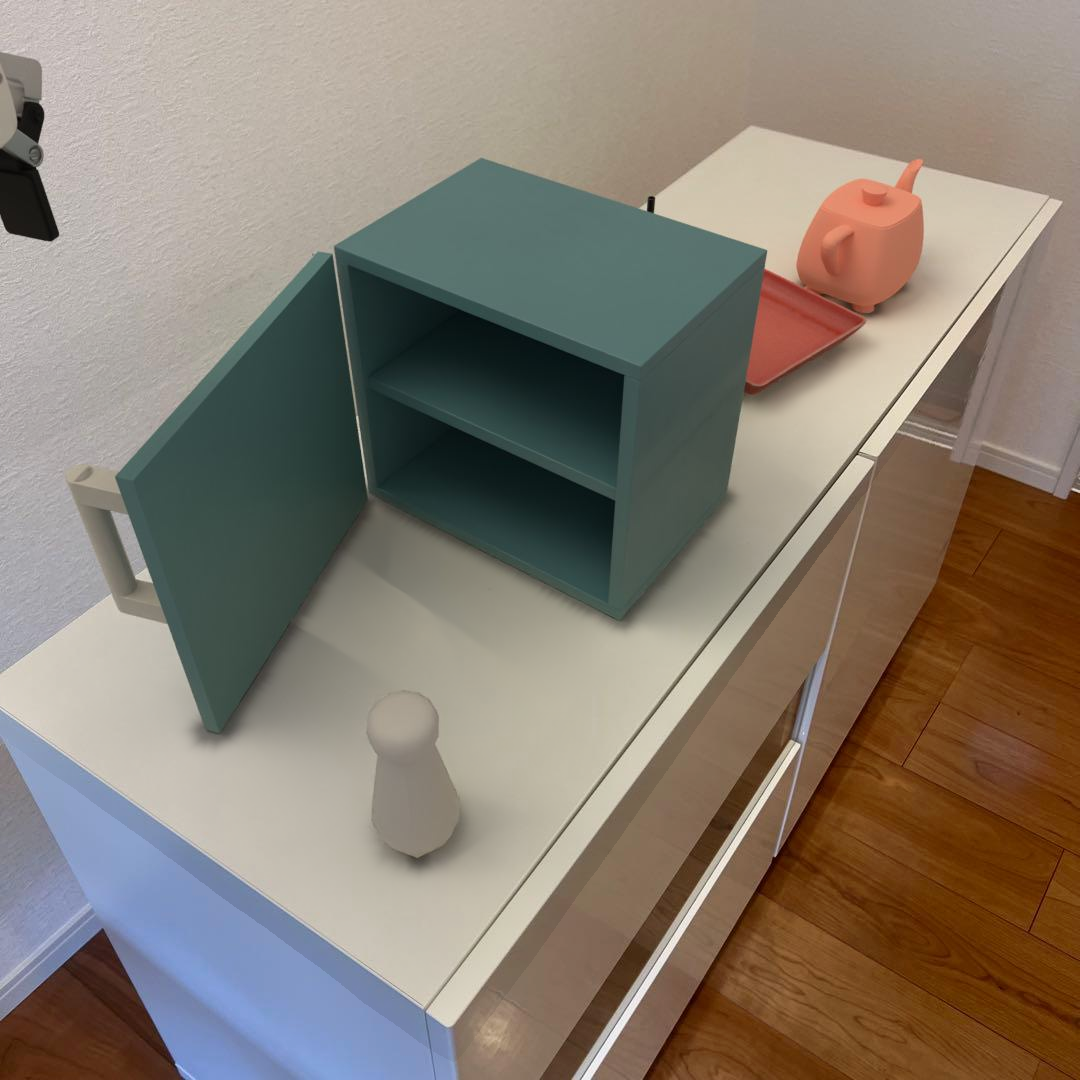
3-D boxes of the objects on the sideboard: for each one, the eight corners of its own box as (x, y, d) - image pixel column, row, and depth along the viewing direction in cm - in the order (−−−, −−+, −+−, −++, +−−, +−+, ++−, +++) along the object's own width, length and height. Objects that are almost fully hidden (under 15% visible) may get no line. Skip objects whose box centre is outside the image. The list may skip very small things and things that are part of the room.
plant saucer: (732, 278, 123) (736, 251, 120) (864, 344, 113) (871, 317, 111) (621, 338, 114) (623, 311, 112) (753, 415, 104) (758, 388, 102)
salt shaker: (427, 777, 75) (412, 657, 66) (479, 832, 72) (471, 715, 63) (357, 826, 72) (332, 709, 63) (408, 886, 69) (389, 771, 60)
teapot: (860, 341, 114) (886, 238, 105) (763, 302, 119) (780, 200, 111) (942, 267, 125) (972, 167, 116) (850, 234, 130) (872, 137, 122)
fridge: (619, 621, 85) (641, 366, 68) (368, 493, 96) (332, 245, 79) (726, 497, 96) (768, 249, 79) (489, 394, 107) (481, 157, 90)
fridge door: (127, 708, 79) (17, 454, 62) (290, 481, 97) (239, 237, 80) (220, 733, 77) (132, 480, 60) (368, 498, 95) (332, 253, 79)
